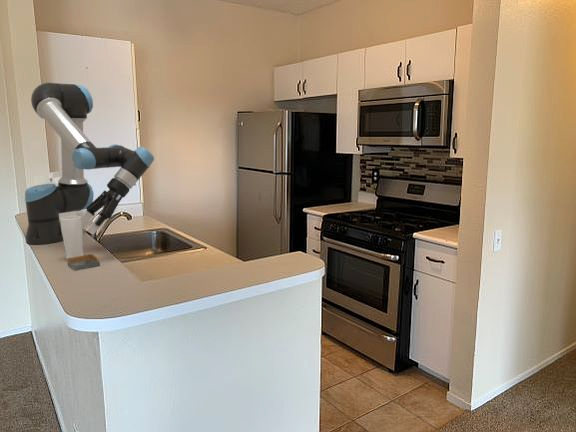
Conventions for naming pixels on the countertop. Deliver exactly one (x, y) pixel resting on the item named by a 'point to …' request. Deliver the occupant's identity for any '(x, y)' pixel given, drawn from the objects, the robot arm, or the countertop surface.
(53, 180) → the milk
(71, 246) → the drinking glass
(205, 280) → the countertop surface
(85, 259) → the square coaster
